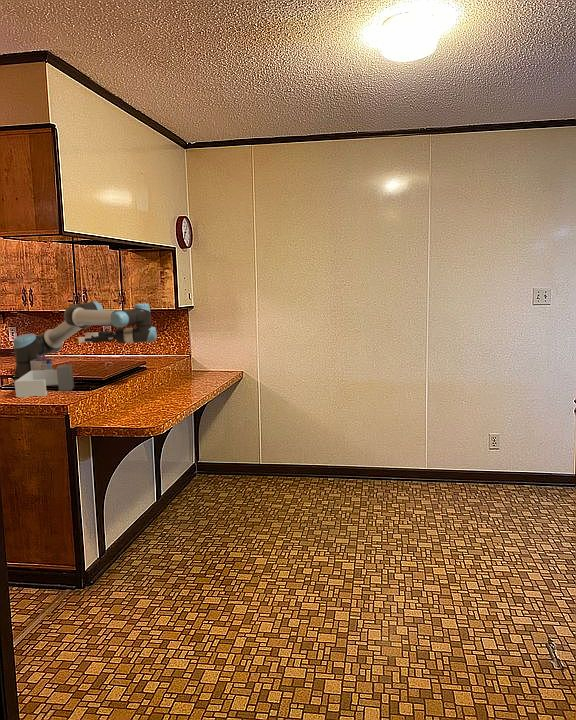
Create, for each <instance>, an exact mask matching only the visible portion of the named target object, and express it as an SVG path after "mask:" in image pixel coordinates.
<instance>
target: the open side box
mask: <svg viewBox="0 0 576 720" xmlns="http://www.w3.org/2000/svg"><path fill="white" fill-rule="evenodd" d="M47 386H58V378H57V369H56V368H55V369H53V370H35V371H30V372H28V373H27V374H25V375H24V376H22V377H21V378H19V379H18V380H16V379H15V381H14V389H15V397H19V398H31V397H30V396H38V397H47V396H48V393H47ZM28 396H29V397H28Z"/></svg>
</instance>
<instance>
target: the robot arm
mask: <svg viewBox="0 0 576 720" xmlns="http://www.w3.org/2000/svg"><path fill="white" fill-rule="evenodd" d="M133 306H134V308H131V309H127V310H115V309H113V310H111V309H109V310H108V309H107V310H106V309H104V308H103V306H102V304H101V303H100V302H98V301H93V300H92V301H89V302H82V303H74V304H71V305H69V306H68V307H66V309H65V310H64V313H63V320H64V321H63V322H61V323H60V324H59V325H57V326H56V327H54V328H52V329H51V328H49V329H47V330H46V331H44V332H43V333H41V334H38V335H36V334H35V333H25V334H21V335H18V336H15V338H14V339H13V350H14V357H15V369H14V374H13V376H14V377H19V378H21V377H22V376H24V375H25V374H27V373H28V372H30V371H31V363H30V361H31V360H34V359H38V357H39V355H45V356H46V355H50V354H55V353H58V352H60V351H61V350H62V348H63V345H64V342H65V341H66V340H68V339H69V338H70V337H72V336H74V335H75V334H77V333H78V332H79V331H80V330H86V329H88V328H90V327H91V326H111V327H115V328H116V330H115V331H104V330H103V331H102V330H101V331H99V332H98V331H97V332H94V331H93V332H84V336H77V338H78V339H77V341H78V344H79V343H80V344H83V343H92V344H95V343H103V342H114V340H116V343H117V344H130V345H131V344H133V343H134V344H135V343H137V344H138V343H151V342H152V343H153V342H156V340H157V339H158V338H157V337H158V333H157V327H155V326H153V325H152V318H151V317H152V315H151V307H150V304H149V303H146V302H145V303H144V302H142V303H141V302H140V303H135V304H134V305H133ZM132 325H135V327H129V326H132ZM124 327H125V328H124ZM19 378H14V380H15V381H16V380H18V379H19Z"/></svg>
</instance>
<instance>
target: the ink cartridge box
mask: <svg viewBox="0 0 576 720" xmlns="http://www.w3.org/2000/svg"><path fill="white" fill-rule="evenodd" d="M45 356H46V355H39V356H38V359H34V360H31V361H30V363H31V371H35V370H54V368H53V360H52V358H45Z"/></svg>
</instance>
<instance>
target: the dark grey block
mask: <svg viewBox="0 0 576 720" xmlns="http://www.w3.org/2000/svg"><path fill="white" fill-rule="evenodd" d="M55 369H57V378H58V385H57V387H58V392H65V391H72V390H74V388H75V383H74V382H75V381H74V374H73V373H74V372H73V364H59V365H58V366H57V367H55Z"/></svg>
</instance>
